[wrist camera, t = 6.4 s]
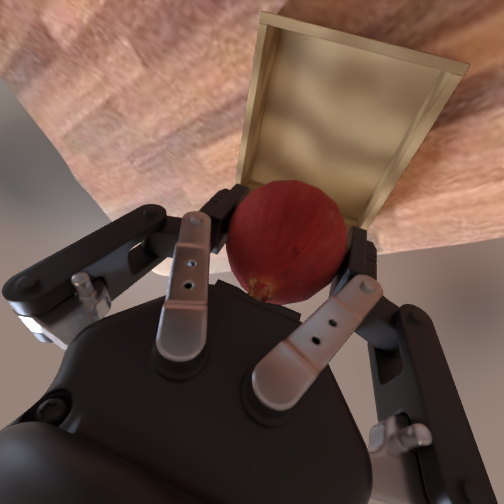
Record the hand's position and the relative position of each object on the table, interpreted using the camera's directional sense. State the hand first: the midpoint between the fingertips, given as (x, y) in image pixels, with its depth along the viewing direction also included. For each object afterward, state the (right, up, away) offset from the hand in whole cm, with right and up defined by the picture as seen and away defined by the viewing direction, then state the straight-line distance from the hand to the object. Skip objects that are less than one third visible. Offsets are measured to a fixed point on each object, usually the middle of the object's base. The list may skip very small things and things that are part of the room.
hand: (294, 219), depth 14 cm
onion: (+1, +1, +1) cm, 2 cm away
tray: (+5, +10, +13) cm, 17 cm away
